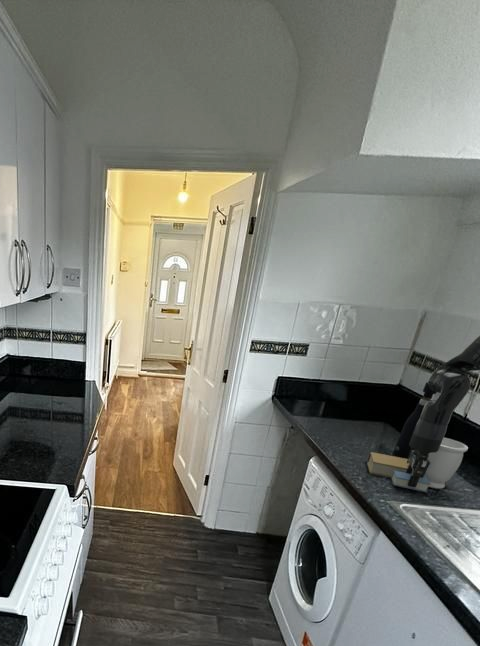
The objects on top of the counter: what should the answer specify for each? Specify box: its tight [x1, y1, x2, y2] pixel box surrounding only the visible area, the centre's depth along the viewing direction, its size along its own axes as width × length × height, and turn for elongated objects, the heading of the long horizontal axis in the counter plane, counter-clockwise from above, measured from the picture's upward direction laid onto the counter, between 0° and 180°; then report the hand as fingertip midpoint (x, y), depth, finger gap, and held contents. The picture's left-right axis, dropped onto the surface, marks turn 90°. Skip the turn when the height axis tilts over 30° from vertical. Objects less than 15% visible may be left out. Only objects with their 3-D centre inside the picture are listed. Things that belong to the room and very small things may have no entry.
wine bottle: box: [391, 381, 438, 459], centre depth 150 cm, size 6×6×30 cm
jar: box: [417, 437, 469, 489], centre depth 137 cm, size 11×10×15 cm
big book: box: [366, 451, 408, 479], centre depth 145 cm, size 12×10×4 cm
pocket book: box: [390, 471, 430, 493], centre depth 135 cm, size 9×6×3 cm, turn 63°
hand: (409, 482), depth 135 cm, fingers closed on pocket book, 5 cm apart
